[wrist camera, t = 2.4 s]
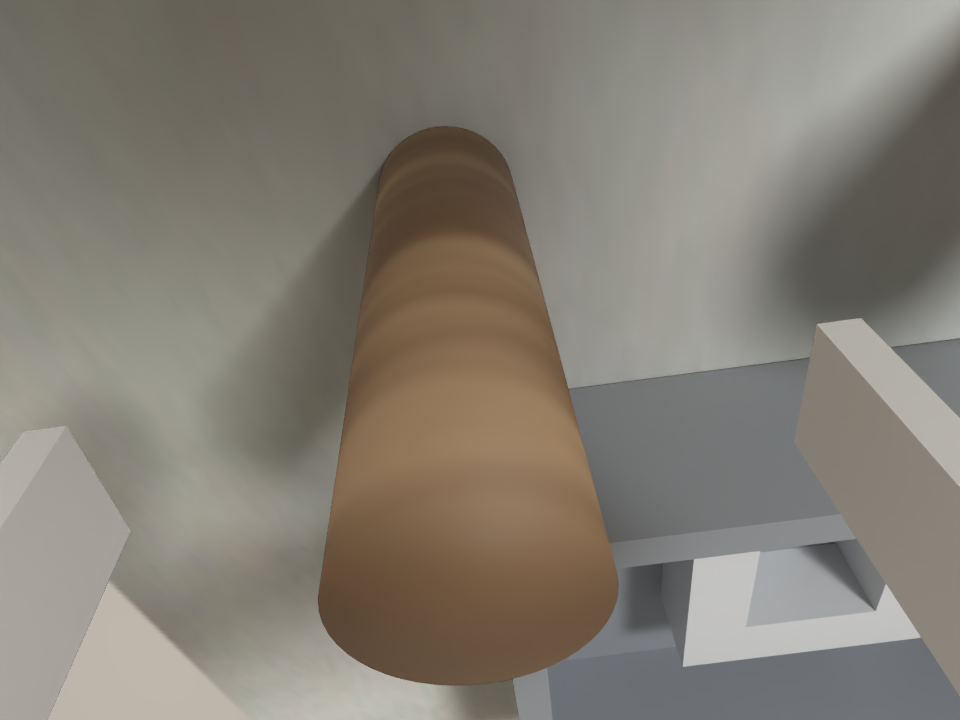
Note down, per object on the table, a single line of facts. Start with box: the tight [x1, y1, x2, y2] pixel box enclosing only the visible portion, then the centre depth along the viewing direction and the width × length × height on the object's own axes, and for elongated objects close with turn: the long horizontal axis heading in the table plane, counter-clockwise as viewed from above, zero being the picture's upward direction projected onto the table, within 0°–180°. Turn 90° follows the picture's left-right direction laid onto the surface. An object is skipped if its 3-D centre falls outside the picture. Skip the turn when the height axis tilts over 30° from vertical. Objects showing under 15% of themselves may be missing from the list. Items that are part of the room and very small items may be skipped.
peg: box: [318, 126, 619, 685], centre depth 15 cm, size 4×4×14 cm
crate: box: [513, 339, 960, 720], centre depth 28 cm, size 18×24×7 cm
